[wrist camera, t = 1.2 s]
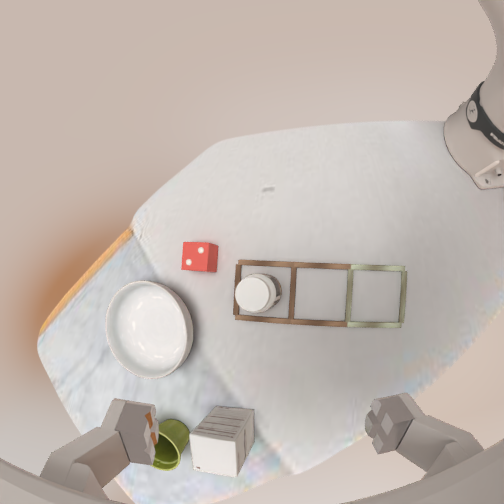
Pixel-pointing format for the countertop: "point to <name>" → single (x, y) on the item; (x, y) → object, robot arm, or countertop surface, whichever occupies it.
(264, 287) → the pill bottle
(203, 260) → the red die
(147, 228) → the countertop surface
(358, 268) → the track frame
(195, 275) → the countertop surface
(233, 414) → the supplement box
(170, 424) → the plant pot
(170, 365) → the cereal bowl
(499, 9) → the robot arm
